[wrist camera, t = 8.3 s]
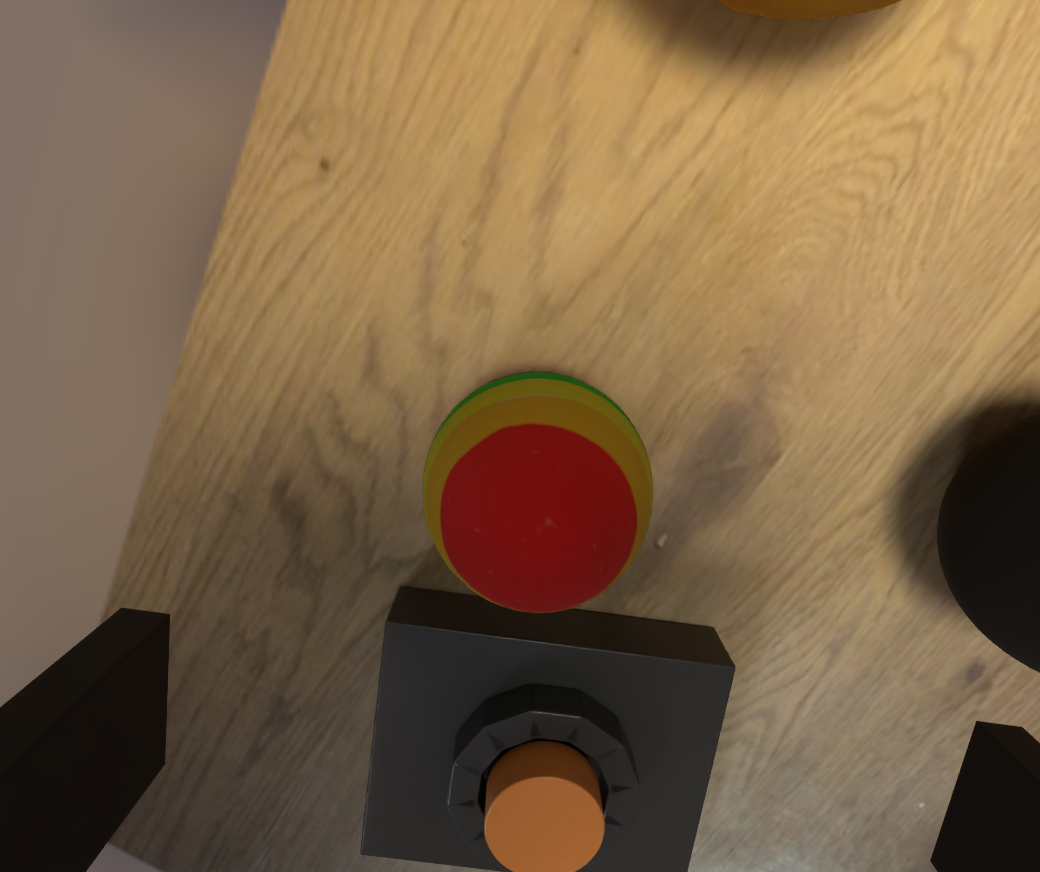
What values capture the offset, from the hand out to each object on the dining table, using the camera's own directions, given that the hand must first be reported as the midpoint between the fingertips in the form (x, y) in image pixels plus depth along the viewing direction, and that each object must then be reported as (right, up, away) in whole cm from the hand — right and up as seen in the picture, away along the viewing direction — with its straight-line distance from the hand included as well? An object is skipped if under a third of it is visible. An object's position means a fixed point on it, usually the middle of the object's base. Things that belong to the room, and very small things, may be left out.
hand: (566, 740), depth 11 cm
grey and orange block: (0, -8, +20) cm, 22 cm away
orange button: (0, -9, +16) cm, 18 cm away
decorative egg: (0, +4, +18) cm, 18 cm away
